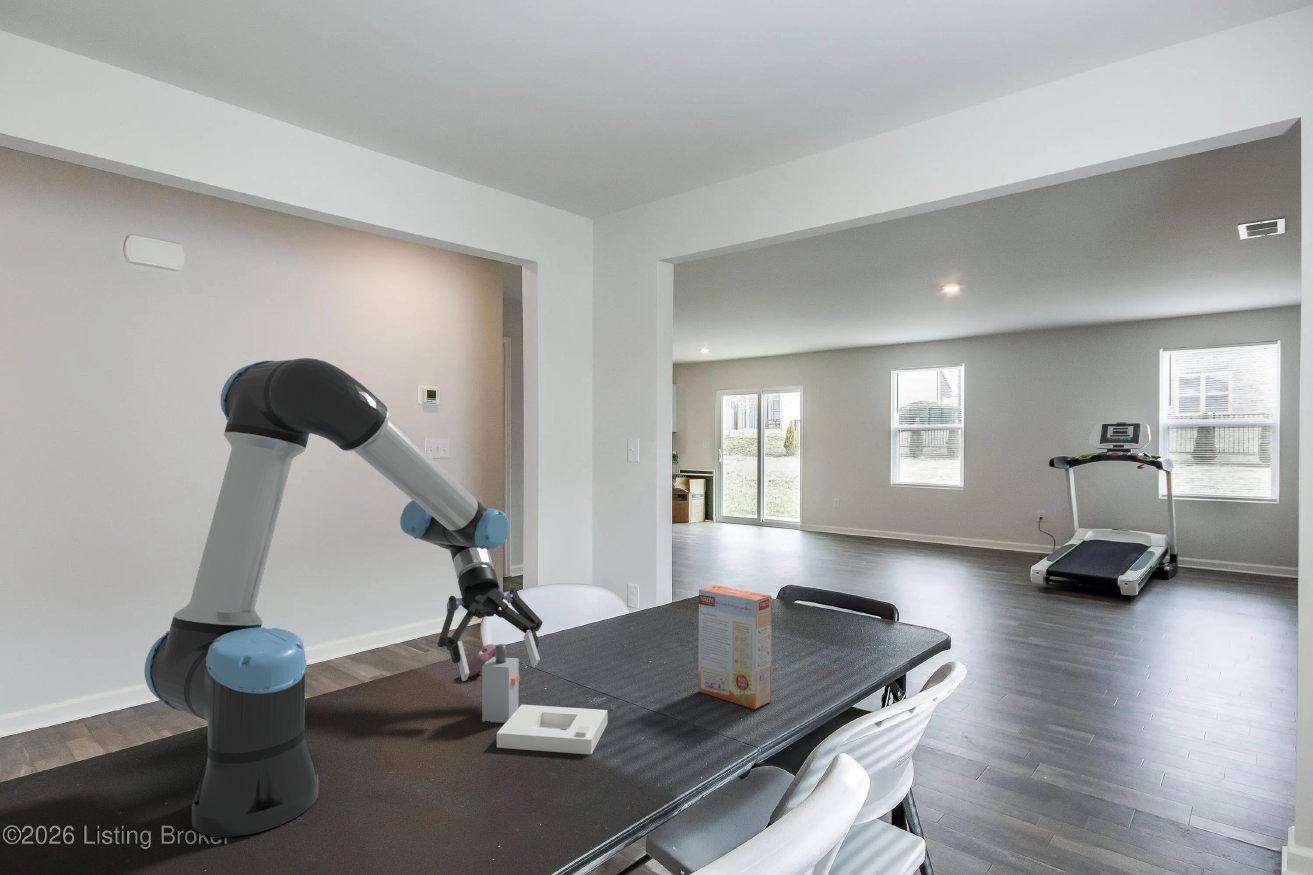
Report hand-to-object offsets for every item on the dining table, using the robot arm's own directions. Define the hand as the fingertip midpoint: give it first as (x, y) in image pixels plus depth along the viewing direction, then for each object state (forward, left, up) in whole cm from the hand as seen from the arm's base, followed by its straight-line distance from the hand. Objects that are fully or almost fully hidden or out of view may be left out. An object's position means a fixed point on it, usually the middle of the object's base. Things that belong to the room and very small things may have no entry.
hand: (502, 670), depth 127 cm
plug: (0, -2, -8) cm, 8 cm away
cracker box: (+42, +14, -8) cm, 45 cm away
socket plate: (+12, -8, -8) cm, 17 cm away
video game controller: (-12, +20, -8) cm, 25 cm away
